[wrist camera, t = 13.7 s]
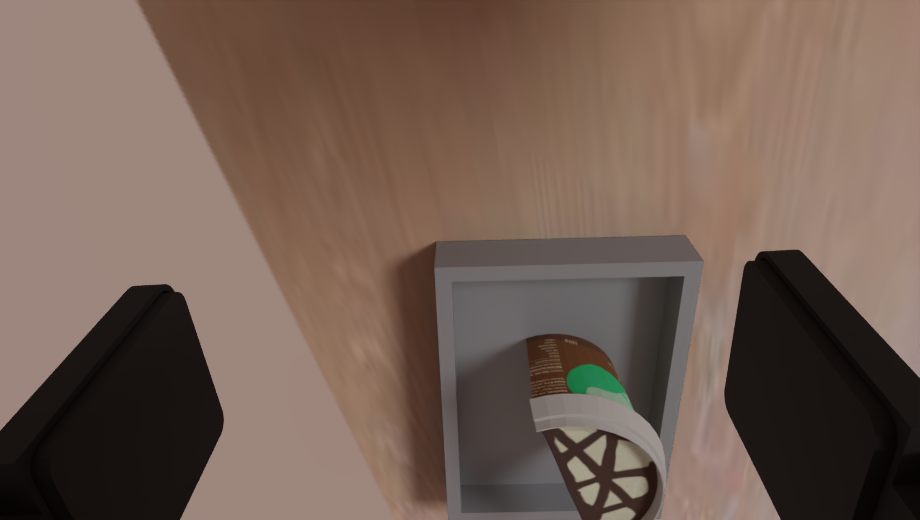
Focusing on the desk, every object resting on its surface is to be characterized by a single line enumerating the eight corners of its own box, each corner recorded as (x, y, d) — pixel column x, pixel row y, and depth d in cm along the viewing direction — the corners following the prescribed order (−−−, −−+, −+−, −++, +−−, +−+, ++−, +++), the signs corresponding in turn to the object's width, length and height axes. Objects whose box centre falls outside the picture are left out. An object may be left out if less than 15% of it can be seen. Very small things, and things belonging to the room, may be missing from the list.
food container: (652, 425, 48) (695, 540, 39) (572, 448, 49) (597, 565, 40) (606, 292, 42) (645, 390, 33) (518, 321, 43) (532, 424, 35)
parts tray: (685, 235, 41) (703, 261, 38) (648, 482, 52) (660, 518, 48) (436, 241, 41) (434, 267, 38) (449, 486, 52) (448, 522, 49)
